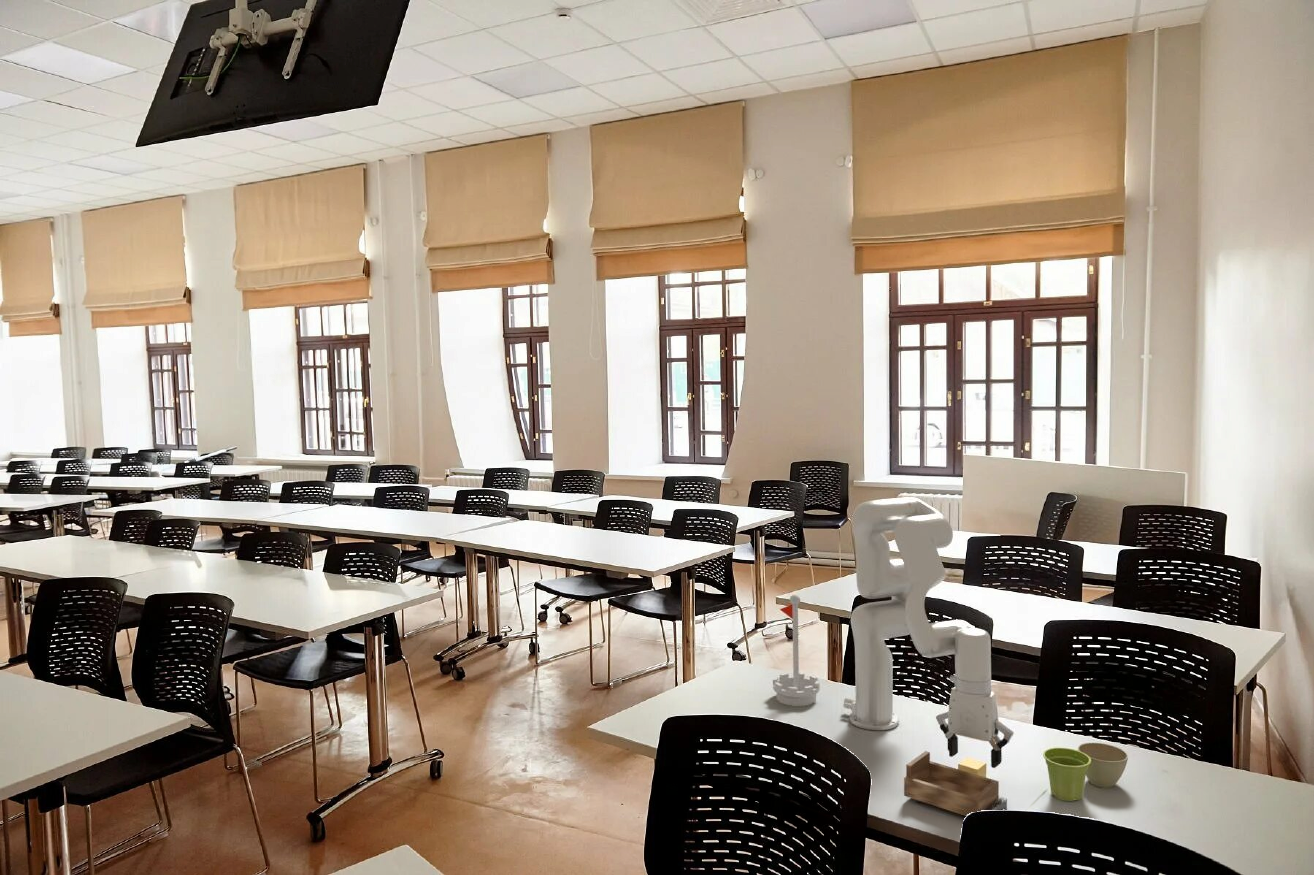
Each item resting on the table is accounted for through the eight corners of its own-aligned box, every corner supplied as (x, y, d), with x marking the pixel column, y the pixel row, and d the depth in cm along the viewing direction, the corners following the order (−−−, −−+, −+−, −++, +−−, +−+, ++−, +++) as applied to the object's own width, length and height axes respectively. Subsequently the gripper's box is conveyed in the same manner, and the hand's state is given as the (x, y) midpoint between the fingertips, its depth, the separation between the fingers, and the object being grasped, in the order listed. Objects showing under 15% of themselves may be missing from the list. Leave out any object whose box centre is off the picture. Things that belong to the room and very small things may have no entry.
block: (958, 783, 205) (958, 763, 205) (967, 776, 208) (967, 757, 208) (977, 789, 202) (977, 769, 201) (986, 782, 205) (986, 763, 205)
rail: (862, 789, 203) (862, 779, 203) (887, 772, 211) (886, 762, 211) (985, 830, 184) (985, 819, 184) (1006, 810, 192) (1006, 799, 192)
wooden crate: (904, 801, 196) (904, 766, 195) (927, 782, 204) (927, 749, 203) (976, 825, 185) (976, 788, 185) (998, 805, 193) (998, 770, 193)
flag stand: (828, 697, 259) (827, 593, 256) (803, 711, 249) (802, 603, 246) (789, 687, 267) (788, 586, 265) (764, 700, 257) (762, 595, 255)
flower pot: (1107, 797, 197) (1108, 765, 196) (1067, 779, 205) (1068, 748, 205) (1137, 786, 201) (1138, 755, 201) (1097, 769, 210) (1097, 738, 209)
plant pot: (1087, 809, 191) (1088, 769, 191) (1039, 799, 196) (1039, 760, 196) (1092, 791, 199) (1093, 753, 199) (1046, 781, 204) (1047, 744, 204)
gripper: (928, 681, 206) (930, 756, 207) (1005, 697, 194) (1006, 776, 195) (943, 673, 211) (944, 745, 212) (1018, 688, 200) (1019, 764, 201)
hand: (974, 760), depth 204 cm, fingers open, 9 cm apart
